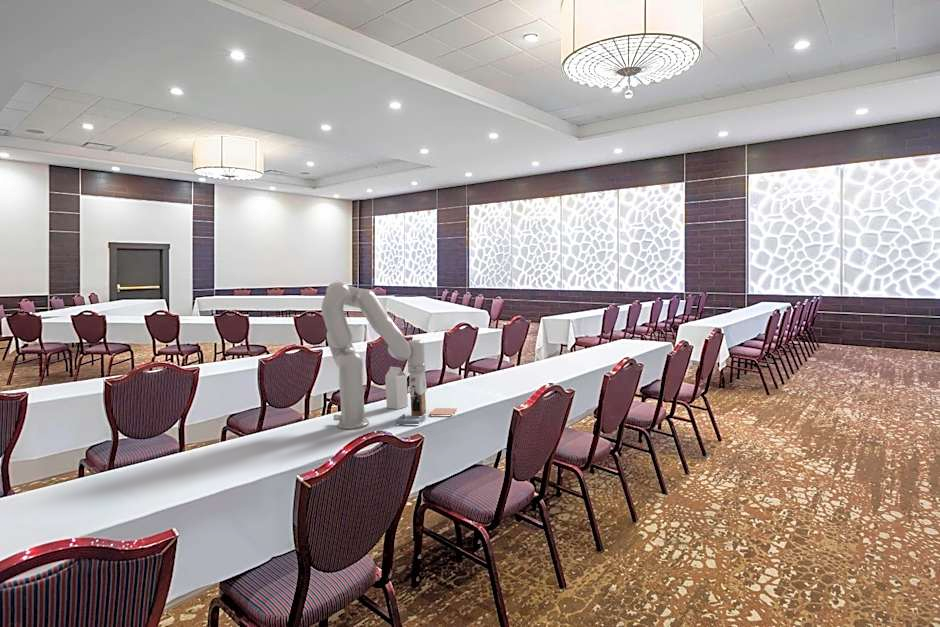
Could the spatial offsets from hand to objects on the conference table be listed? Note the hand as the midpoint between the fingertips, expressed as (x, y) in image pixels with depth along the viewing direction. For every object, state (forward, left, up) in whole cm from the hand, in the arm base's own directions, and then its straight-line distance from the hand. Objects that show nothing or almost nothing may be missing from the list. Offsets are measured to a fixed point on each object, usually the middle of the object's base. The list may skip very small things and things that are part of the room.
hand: (418, 408), depth 237 cm
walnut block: (0, 0, -3) cm, 3 cm away
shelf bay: (0, -10, -3) cm, 10 cm away
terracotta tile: (+10, +4, -3) cm, 11 cm away
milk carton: (-15, +13, -3) cm, 20 cm away
